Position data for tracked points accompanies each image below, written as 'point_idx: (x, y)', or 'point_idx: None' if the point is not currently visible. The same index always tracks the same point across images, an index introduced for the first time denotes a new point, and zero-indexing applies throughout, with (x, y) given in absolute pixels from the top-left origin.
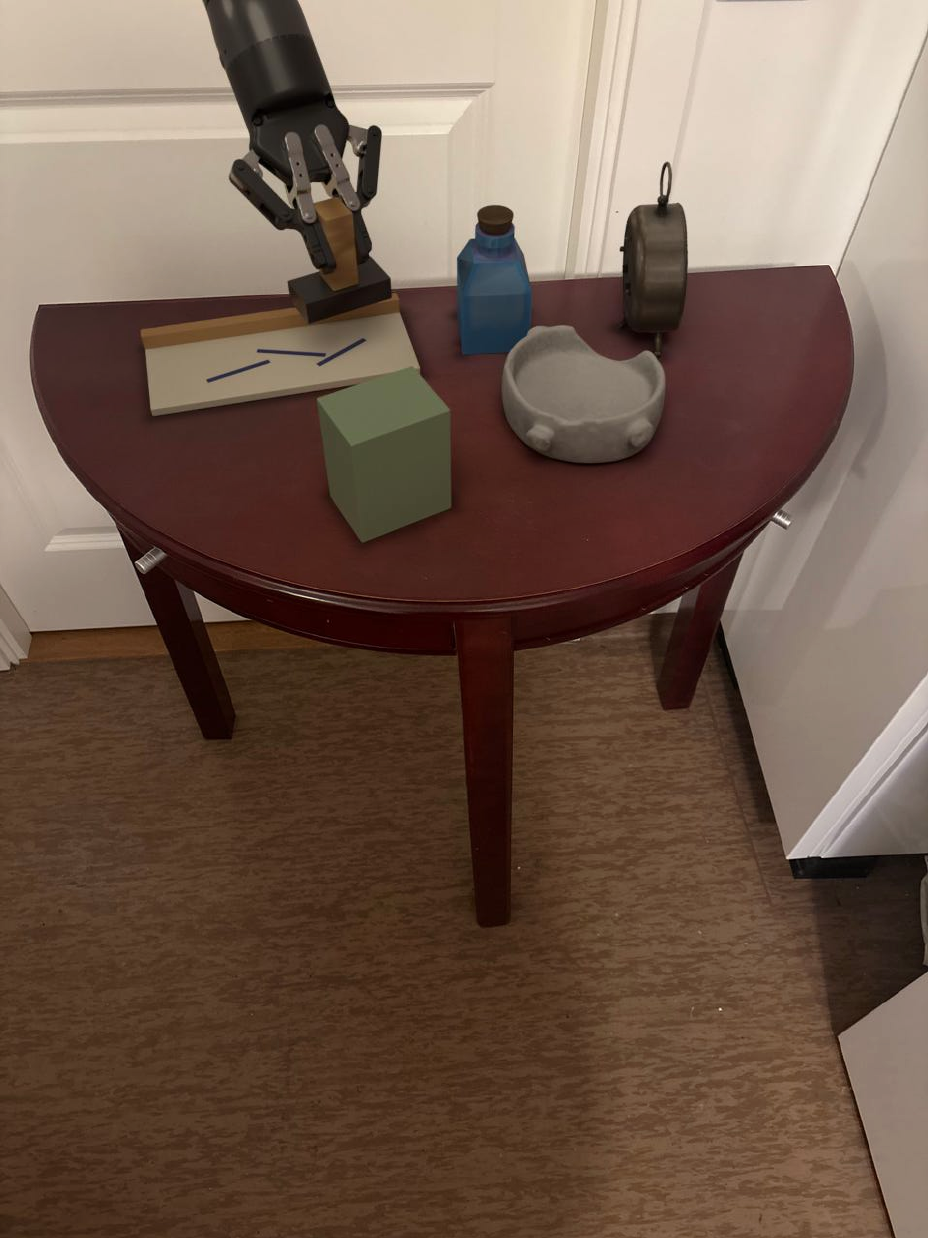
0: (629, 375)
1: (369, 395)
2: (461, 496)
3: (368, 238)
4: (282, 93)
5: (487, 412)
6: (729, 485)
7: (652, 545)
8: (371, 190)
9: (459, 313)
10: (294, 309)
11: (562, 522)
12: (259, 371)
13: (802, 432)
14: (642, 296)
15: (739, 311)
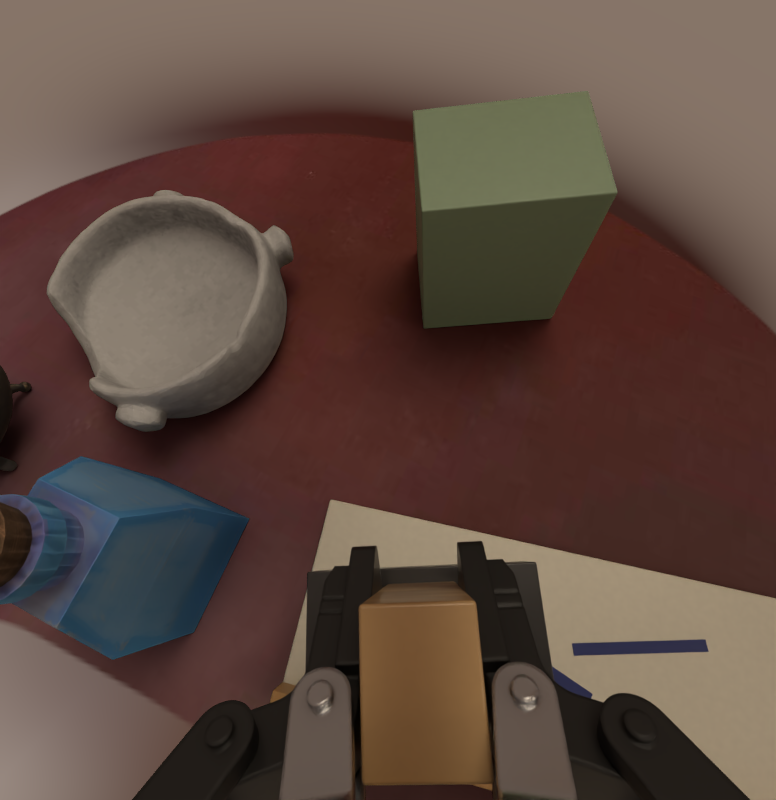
0: (97, 315)
1: (523, 171)
2: (398, 264)
3: (328, 593)
4: None
5: (291, 381)
6: (140, 185)
7: (260, 149)
8: (217, 725)
9: (200, 580)
10: None
11: (318, 198)
12: (598, 624)
13: (18, 218)
14: None
15: None
